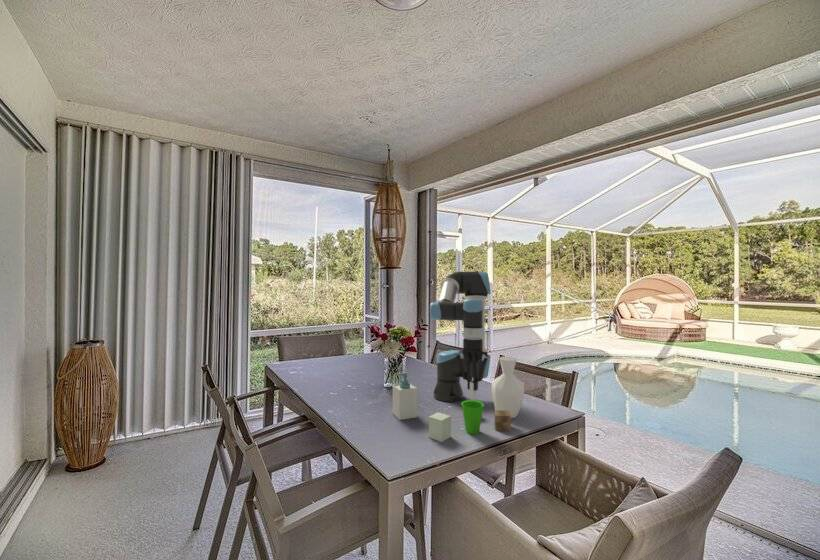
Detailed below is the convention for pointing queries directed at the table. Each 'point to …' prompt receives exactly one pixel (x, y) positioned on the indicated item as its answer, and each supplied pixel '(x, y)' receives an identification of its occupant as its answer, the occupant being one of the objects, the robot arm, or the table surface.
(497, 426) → the walnut block
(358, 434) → the table surface
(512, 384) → the vase
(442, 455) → the table surface
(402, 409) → the soap bottle
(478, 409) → the cup
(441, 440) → the sage block
